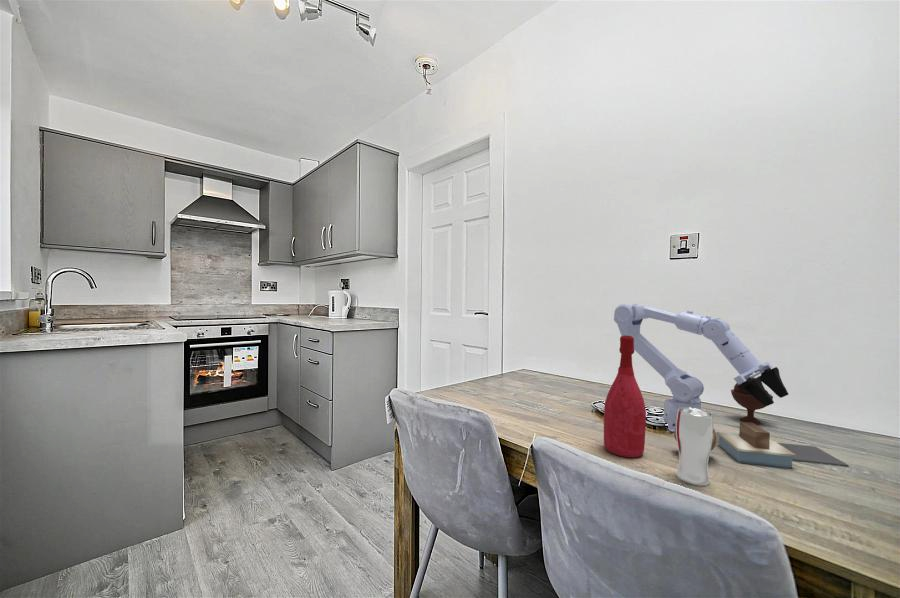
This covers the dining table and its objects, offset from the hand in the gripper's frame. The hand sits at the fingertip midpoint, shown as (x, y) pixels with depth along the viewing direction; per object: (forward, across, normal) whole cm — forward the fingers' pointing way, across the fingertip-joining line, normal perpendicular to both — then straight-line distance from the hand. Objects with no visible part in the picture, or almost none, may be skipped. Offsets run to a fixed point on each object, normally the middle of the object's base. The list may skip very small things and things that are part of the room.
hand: (777, 400), depth 101 cm
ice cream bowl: (+4, +20, +24) cm, 32 cm away
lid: (+6, -11, +6) cm, 14 cm away
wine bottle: (-5, -40, +17) cm, 43 cm away
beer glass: (+5, -38, +4) cm, 39 cm away
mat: (+13, +2, +6) cm, 15 cm away
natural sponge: (+3, -26, +11) cm, 28 cm away
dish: (+9, -11, +8) cm, 16 cm away
